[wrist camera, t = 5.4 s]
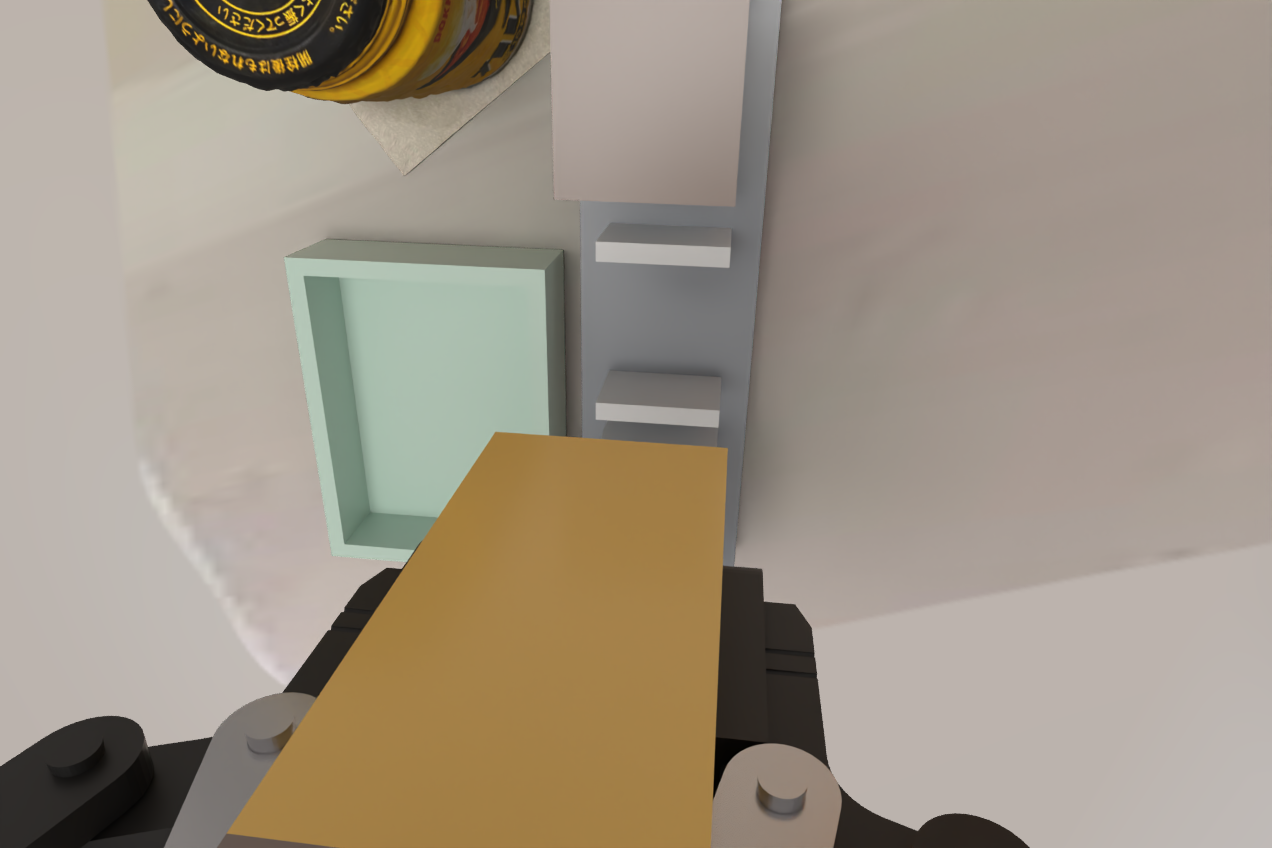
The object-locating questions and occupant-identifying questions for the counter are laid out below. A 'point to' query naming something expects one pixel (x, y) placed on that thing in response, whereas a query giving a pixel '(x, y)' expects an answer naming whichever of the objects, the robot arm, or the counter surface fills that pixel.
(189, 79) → the counter surface
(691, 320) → the rail
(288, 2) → the condiment
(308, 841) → the block
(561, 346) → the tray
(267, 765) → the robot arm
